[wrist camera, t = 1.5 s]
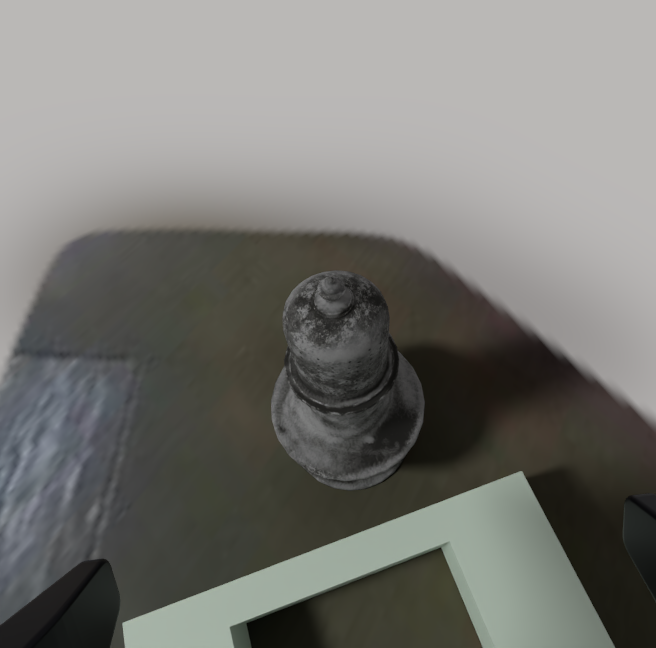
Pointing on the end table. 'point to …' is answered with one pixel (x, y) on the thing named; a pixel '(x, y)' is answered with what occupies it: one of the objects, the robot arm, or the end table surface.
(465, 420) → the end table surface
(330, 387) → the grey stone chess bishop
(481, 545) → the socket board
